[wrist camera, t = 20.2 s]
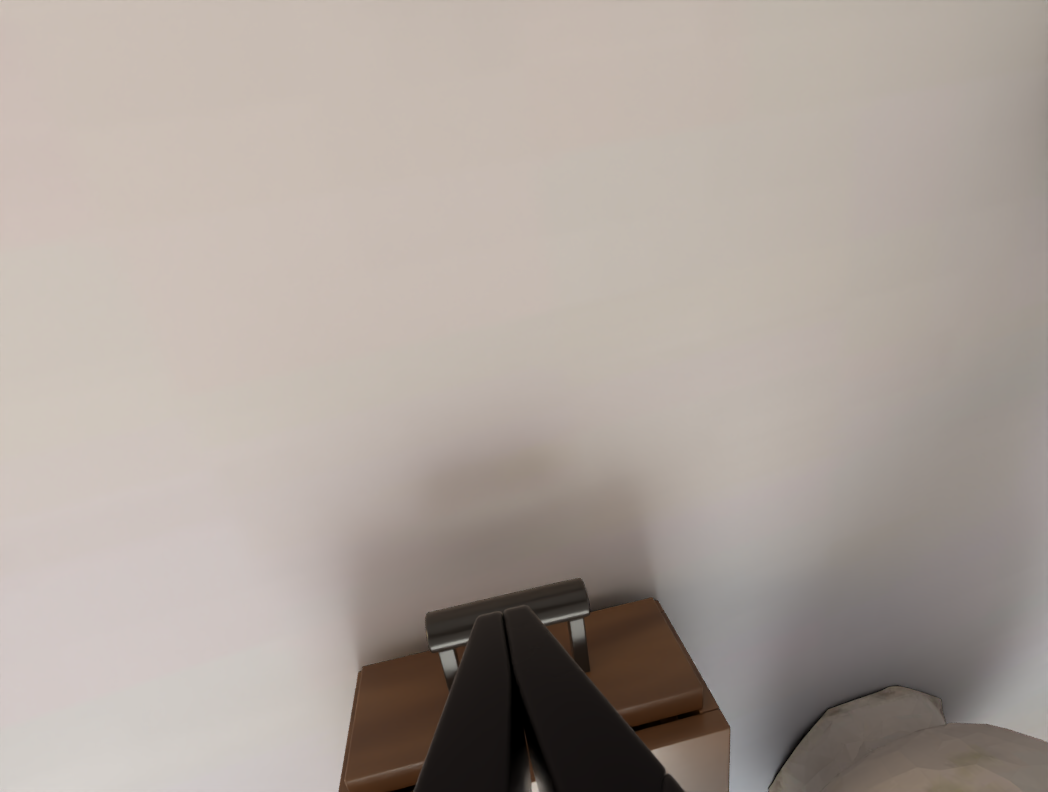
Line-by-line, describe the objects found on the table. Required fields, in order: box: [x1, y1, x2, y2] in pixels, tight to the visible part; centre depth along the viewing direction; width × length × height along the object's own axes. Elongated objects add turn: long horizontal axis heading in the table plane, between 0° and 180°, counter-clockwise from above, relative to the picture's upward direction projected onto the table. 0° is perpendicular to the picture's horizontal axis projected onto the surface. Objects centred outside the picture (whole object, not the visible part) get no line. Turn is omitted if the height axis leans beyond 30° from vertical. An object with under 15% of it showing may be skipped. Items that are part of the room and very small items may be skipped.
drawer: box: [344, 578, 703, 792], centre depth 23 cm, size 22×13×5 cm, turn 8°
